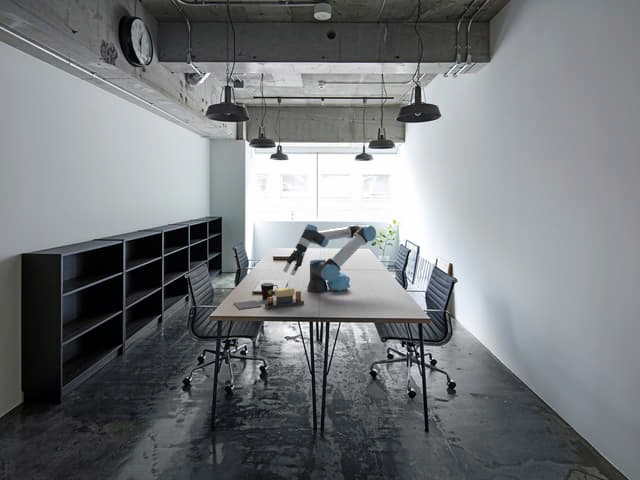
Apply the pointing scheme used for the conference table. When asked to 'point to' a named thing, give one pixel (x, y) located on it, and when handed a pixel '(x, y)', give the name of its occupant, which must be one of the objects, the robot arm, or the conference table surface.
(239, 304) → the rubber mat
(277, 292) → the tan rectangular brick
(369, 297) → the conference table surface
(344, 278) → the decorative pot
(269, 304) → the hand plane
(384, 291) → the conference table surface
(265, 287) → the coffee mug
